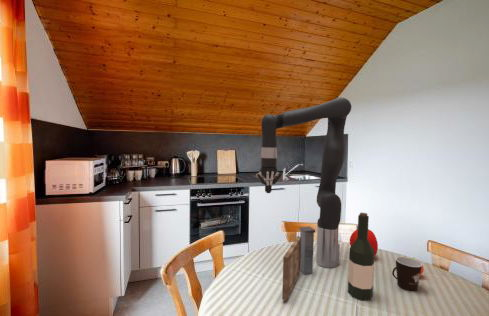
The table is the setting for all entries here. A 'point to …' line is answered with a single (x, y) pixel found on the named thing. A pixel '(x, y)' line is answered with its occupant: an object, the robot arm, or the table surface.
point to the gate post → (306, 250)
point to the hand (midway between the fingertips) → (268, 192)
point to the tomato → (371, 239)
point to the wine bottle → (361, 263)
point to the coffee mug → (407, 273)
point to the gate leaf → (291, 267)
